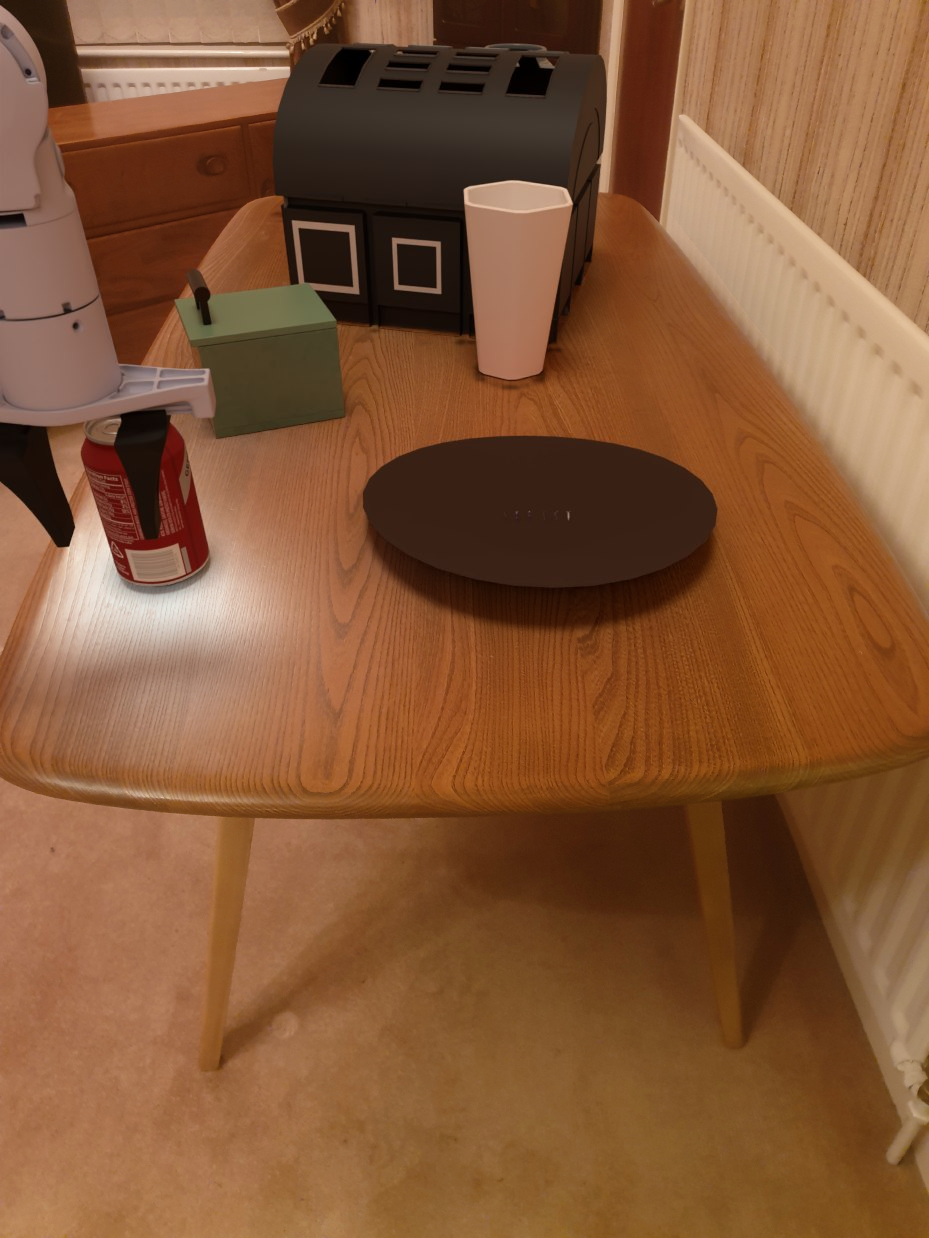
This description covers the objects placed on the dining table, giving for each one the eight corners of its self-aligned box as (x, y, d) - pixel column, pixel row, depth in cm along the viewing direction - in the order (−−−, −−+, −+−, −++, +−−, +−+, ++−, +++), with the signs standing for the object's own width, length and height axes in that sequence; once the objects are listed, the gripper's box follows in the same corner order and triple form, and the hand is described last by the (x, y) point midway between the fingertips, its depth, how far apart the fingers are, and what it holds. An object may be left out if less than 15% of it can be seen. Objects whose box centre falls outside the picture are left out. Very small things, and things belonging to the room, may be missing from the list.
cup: (561, 388, 89) (577, 212, 78) (463, 388, 89) (465, 211, 78) (551, 345, 98) (564, 180, 87) (462, 345, 98) (463, 180, 87)
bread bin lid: (191, 347, 75) (181, 300, 72) (175, 306, 82) (166, 262, 79) (337, 327, 78) (333, 281, 76) (309, 290, 86) (305, 247, 83)
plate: (674, 436, 81) (681, 400, 79) (750, 630, 60) (762, 588, 58) (377, 435, 81) (375, 398, 79) (347, 628, 60) (342, 587, 57)
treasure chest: (554, 347, 97) (575, 78, 81) (290, 319, 103) (258, 63, 86) (592, 259, 121) (614, 37, 104) (375, 240, 127) (363, 27, 110)
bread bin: (216, 438, 80) (198, 347, 75) (199, 392, 88) (182, 306, 82) (345, 416, 84) (337, 328, 78) (318, 374, 91) (309, 290, 86)
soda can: (198, 595, 63) (162, 447, 55) (105, 593, 63) (56, 445, 55) (220, 541, 68) (190, 399, 60) (134, 539, 68) (93, 397, 60)
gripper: (197, 264, 45) (239, 487, 54) (-98, 278, 44) (-6, 507, 52) (187, 314, 40) (235, 552, 49) (-150, 332, 38) (-37, 577, 47)
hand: (110, 533), depth 50 cm, fingers open, 4 cm apart
